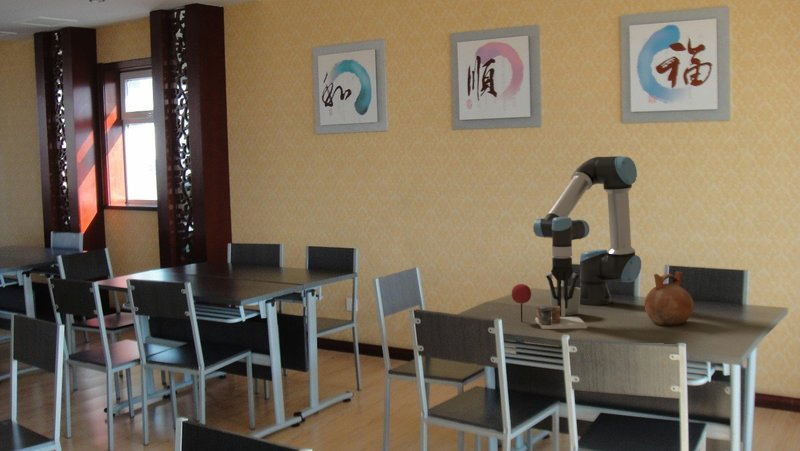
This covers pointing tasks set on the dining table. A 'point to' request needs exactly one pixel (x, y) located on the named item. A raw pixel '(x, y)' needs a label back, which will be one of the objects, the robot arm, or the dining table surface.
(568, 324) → the board
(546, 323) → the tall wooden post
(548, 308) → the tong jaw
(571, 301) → the planter
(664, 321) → the jug
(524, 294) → the lollipop
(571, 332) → the dining table surface
